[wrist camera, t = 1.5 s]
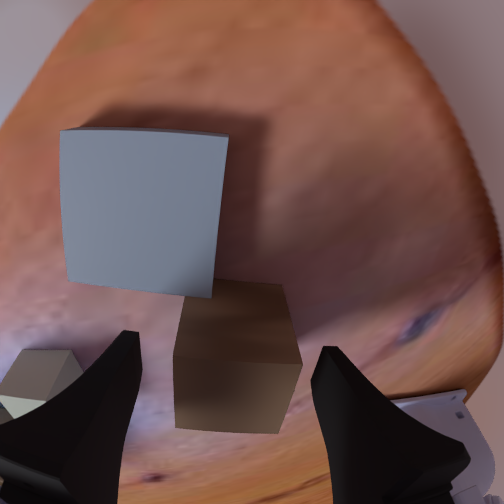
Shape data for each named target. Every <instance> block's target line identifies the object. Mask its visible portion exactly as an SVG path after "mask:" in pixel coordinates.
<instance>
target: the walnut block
mask: <svg viewBox="0 0 504 504" xmlns="http://www.w3.org/2000/svg"><path fill="white" fill-rule="evenodd" d="M302 366H303V363H302V359H301V355H300V351H299V347H298V344H297V340H296V336H295V332H294V328H293V325H292V321H291V317H290V313H289V310H288V306H287V302H286V298H285V295H284V291H283V287H282V285H277V284H266V283H254V282H244V281H233V280H222V279H213V286H212V297H211V299H210V298H200V297H190V296H185V299H184V303H183V308H182V313H181V317H180V322H179V327H178V332H177V337H176V342H175V347H174V352H173V385H174V410H175V428H182V429H192V430H202V431H215V432H232V433H264V434H278V433H279V430H280V428H281V425H282V423H283V420H284V417H285V414H286V412H287V409H288V406H289V403H290V401H291V398H292V395H293V392H294V389H295V386H296V383H297V381H298V378H299V375H300V372H301V369H302Z"/></svg>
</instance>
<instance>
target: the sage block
mask: <svg viewBox="0 0 504 504" xmlns="http://www.w3.org/2000/svg"><path fill="white" fill-rule="evenodd" d="M83 373H84V372H83V370H82V369H81V367H80V365H79V363H78V362H77V360H76V358H75V356H74V354H73V352H72V351H71V350H21V352H20V354H19V355H18V357H17V358H16V360H15V361H14V363H13V364H12V366H11V368H10V369H9V371H8V372H7V374H6V376H5V377H4V379H3V381H2V382H1V384H0V402H1V403H2V404H3V406H4V407H5V408H6V409H7V411H8V412H9V413H10V414H11V416H12V417H13V418H14V419H15V418H18V417H20V416H22V415H24V414H26V413H28V412H30V411H32V410H34V409H35V408H37V407H39V406H41V405H42V404H44V403H46V402H47V401H49V400H50V399H52V398H53V397H54V396H56V395H57V394H59V393H60V392H61V391H63V390H64V389H65V388H67V387H68V386H69V385H70V384H72V383H73V382H74V381H75V380H76V379H77V378H79V377H80V376H81V375H82V374H83Z"/></svg>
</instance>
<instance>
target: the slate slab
mask: <svg viewBox="0 0 504 504" xmlns="http://www.w3.org/2000/svg"><path fill="white" fill-rule="evenodd" d="M228 139H229V134H222V133H212V132H201V131H189V130H175V129H158V128H134V127H77V128H71V129H66V130H61V131H60V200H61V217H62V230H63V241H64V251H65V259H66V267H67V275H68V281H70V282H77V283H84V284H91V285H98V286H106V287H113V288H121V289H129V290H137V291H145V292H154V293H162V294H171V295H181V296H190V297H200V298H210V299H211V297H212V286H213V275H214V264H215V254H216V244H217V234H218V224H219V215H220V206H221V197H222V188H223V180H224V171H225V163H226V155H227V147H228Z"/></svg>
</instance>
